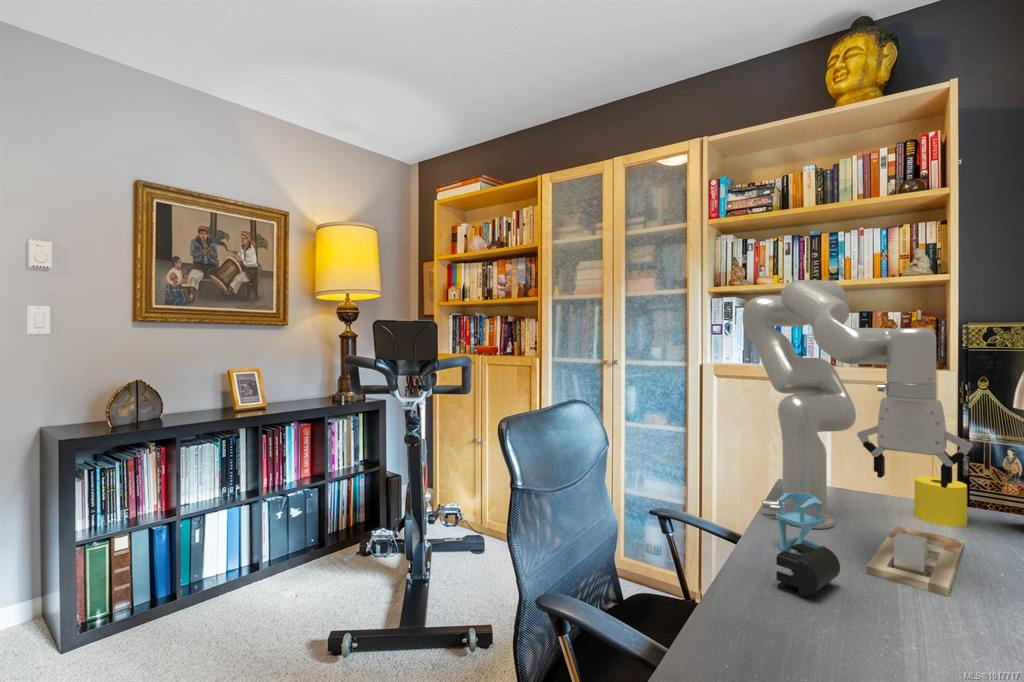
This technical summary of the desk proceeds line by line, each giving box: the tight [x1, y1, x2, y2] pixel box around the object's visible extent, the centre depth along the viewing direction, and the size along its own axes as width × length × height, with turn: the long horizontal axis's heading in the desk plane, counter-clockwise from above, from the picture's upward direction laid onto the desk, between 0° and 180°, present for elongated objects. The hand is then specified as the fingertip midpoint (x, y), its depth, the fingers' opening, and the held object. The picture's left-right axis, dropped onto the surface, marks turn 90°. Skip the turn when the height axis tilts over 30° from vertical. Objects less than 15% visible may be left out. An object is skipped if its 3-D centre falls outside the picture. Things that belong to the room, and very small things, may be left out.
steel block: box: [893, 532, 928, 577], centre depth 97 cm, size 4×4×7 cm
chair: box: [775, 492, 824, 554], centre depth 108 cm, size 8×8×12 cm
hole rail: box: [865, 525, 965, 597], centre depth 103 cm, size 12×30×2 cm, turn 134°
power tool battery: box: [775, 543, 841, 598], centre depth 92 cm, size 10×7×7 cm
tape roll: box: [914, 475, 968, 527], centre depth 126 cm, size 10×10×9 cm
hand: (911, 481), depth 96 cm, fingers open, 9 cm apart
